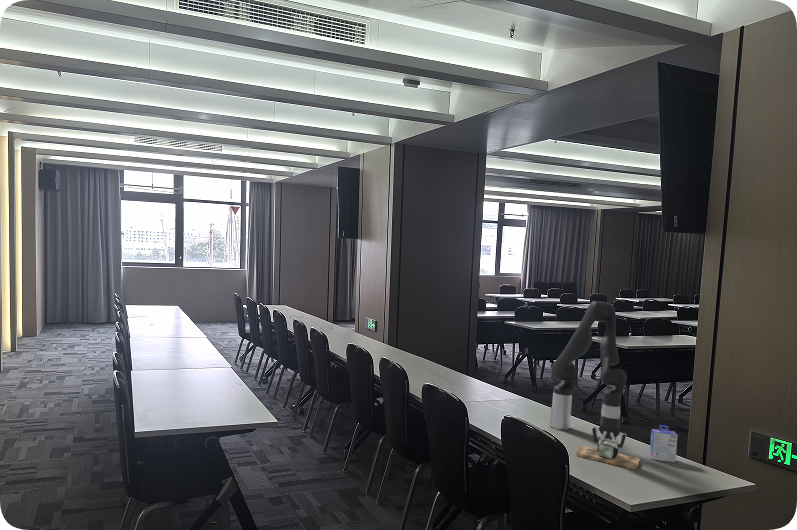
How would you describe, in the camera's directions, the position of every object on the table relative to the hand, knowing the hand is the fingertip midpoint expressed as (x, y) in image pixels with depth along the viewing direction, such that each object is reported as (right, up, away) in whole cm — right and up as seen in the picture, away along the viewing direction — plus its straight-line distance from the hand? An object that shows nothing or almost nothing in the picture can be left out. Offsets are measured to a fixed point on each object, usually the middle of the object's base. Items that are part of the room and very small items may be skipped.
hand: (607, 454), depth 236 cm
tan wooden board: (0, -2, 0) cm, 2 cm away
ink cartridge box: (+26, -4, +5) cm, 27 cm away
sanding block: (0, 0, 0) cm, 0 cm away
